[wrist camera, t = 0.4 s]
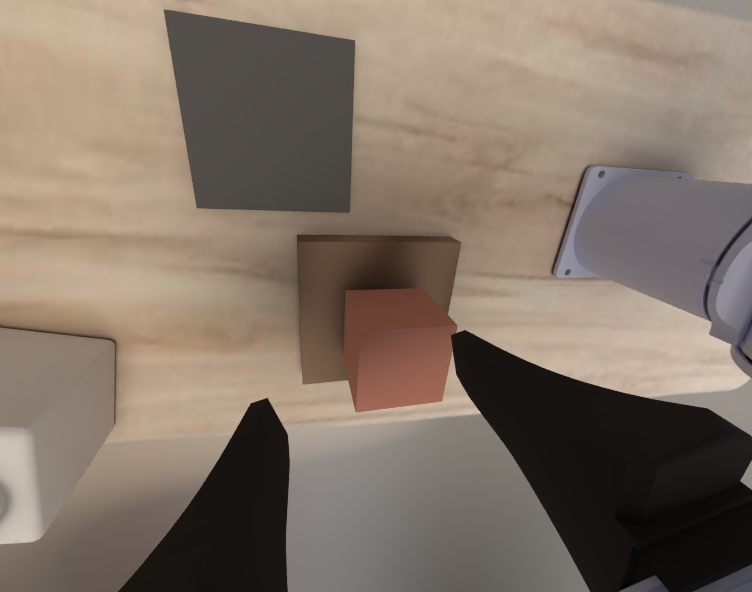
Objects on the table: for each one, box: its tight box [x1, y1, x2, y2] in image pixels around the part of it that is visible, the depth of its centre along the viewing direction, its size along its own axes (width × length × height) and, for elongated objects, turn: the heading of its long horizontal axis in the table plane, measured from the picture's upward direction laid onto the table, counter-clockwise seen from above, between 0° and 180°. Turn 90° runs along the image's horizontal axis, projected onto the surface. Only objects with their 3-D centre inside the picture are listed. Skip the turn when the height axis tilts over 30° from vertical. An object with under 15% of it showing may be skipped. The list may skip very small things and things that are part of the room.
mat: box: [164, 9, 355, 213], centre depth 16 cm, size 8×8×1 cm
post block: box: [297, 235, 461, 384], centre depth 19 cm, size 10×10×6 cm
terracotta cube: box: [343, 288, 457, 412], centre depth 17 cm, size 5×5×5 cm
